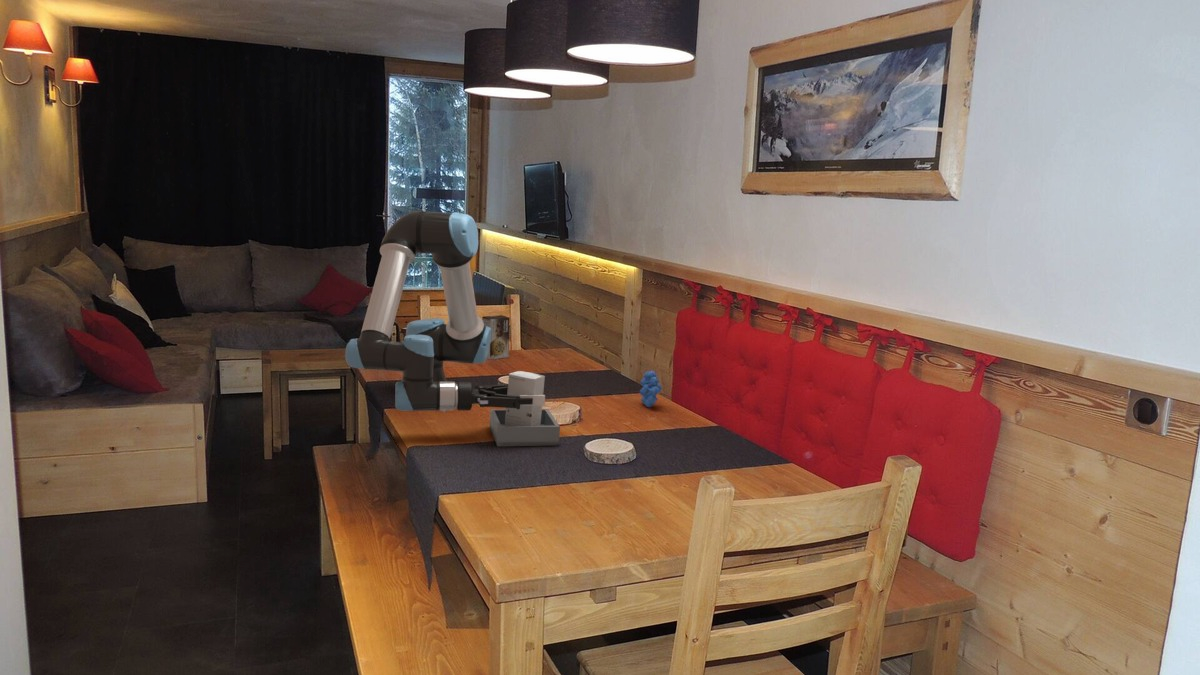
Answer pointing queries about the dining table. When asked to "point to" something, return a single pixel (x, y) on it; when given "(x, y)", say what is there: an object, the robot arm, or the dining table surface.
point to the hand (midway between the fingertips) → (541, 395)
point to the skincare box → (524, 386)
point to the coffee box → (498, 336)
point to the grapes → (650, 388)
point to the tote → (524, 431)
